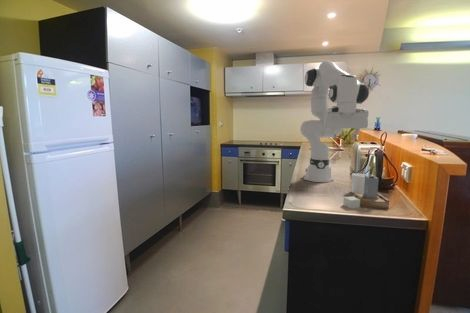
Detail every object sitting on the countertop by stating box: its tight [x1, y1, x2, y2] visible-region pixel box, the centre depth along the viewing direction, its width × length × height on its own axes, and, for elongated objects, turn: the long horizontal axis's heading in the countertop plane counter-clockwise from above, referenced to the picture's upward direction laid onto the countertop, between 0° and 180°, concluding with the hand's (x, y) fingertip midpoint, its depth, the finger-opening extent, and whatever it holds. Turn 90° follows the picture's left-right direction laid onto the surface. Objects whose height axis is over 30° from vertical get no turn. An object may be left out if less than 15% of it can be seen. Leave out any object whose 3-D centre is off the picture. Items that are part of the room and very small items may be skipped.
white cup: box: [350, 172, 368, 194], centre depth 145 cm, size 8×8×10 cm
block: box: [343, 196, 361, 209], centre depth 123 cm, size 5×5×4 cm
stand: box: [352, 192, 390, 209], centre depth 127 cm, size 12×12×4 cm
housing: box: [362, 174, 379, 199], centre depth 126 cm, size 5×5×11 cm
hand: (344, 137), depth 130 cm, fingers open, 8 cm apart
